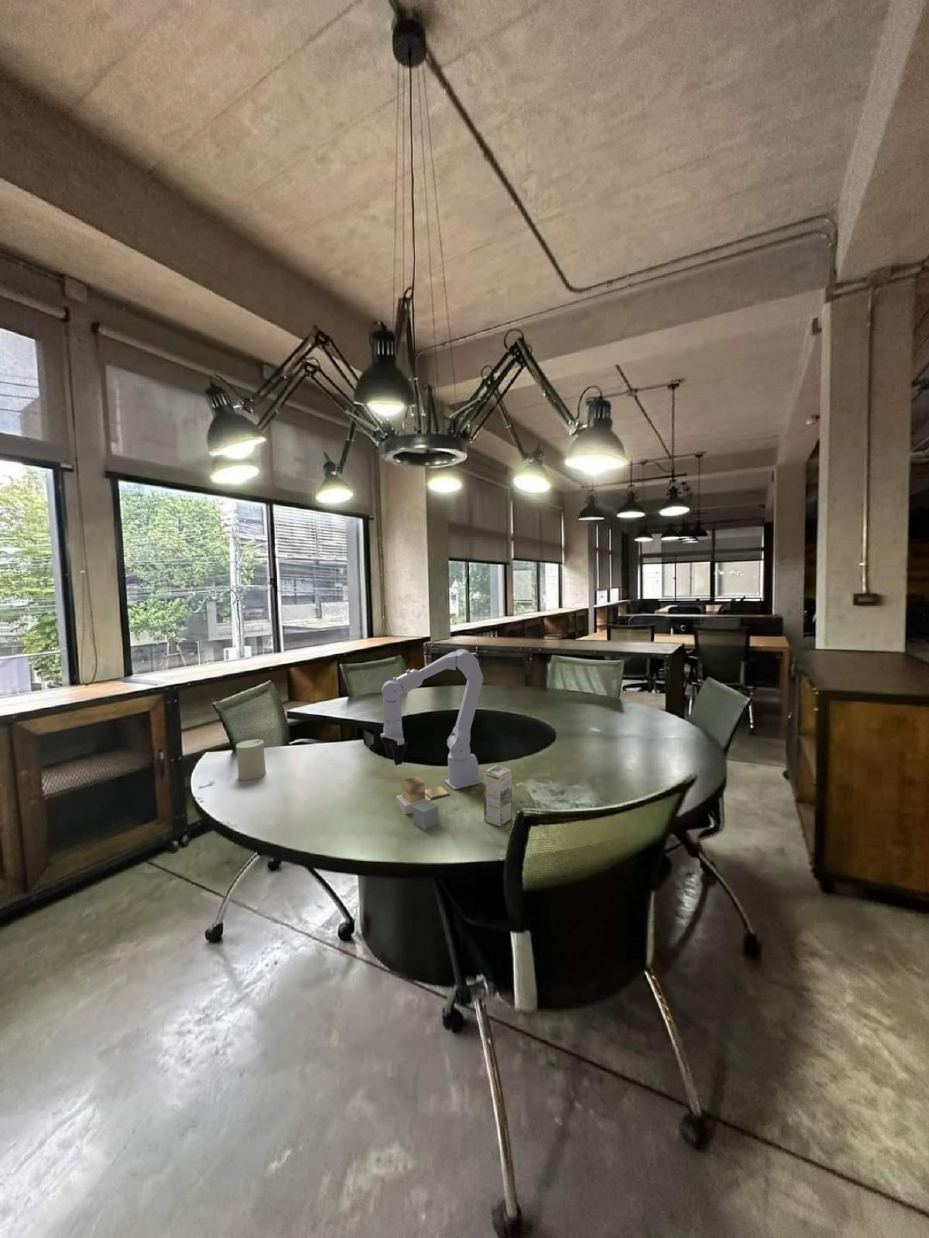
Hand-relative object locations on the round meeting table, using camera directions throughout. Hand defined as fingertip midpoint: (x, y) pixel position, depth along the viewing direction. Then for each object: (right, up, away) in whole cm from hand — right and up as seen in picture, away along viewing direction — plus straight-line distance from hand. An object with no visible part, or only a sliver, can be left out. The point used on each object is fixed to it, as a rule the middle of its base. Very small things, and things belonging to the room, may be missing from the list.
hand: (394, 760), depth 158 cm
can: (-53, -11, +18) cm, 57 cm away
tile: (+13, -10, -3) cm, 17 cm away
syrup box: (+32, -11, -21) cm, 40 cm away
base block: (+7, -11, -10) cm, 17 cm away
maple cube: (+7, -8, -11) cm, 15 cm away
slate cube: (+12, -11, -21) cm, 27 cm away
